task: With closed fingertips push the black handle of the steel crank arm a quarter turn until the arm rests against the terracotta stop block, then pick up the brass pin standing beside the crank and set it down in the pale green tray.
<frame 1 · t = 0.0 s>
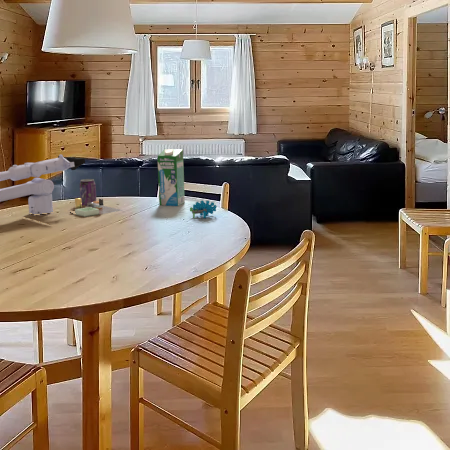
hand: (79, 160, 271), 22 cm above the table, tool horizontal, fingers open, 7 cm apart
base plate: (93, 212, 265), on the table
beverage can: (88, 206, 281), on the table
crank: (95, 202, 262), point 5 cm above the table, hinge at 0.0°
brass pin: (78, 211, 265), point 1 cm above the table, touching base plate
tray: (87, 214, 258), resting on base plate
milk carton: (172, 204, 282), on the table
gear: (203, 217, 253), on the table
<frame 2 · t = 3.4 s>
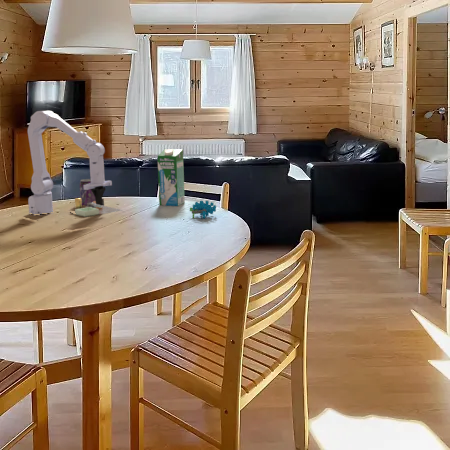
hand: (99, 204, 258), 5 cm above the table, tool pointing down, fingers closed, pressing on crank
crank: (95, 201, 262), point 5 cm above the table, hinge at 2.6°, touching gripper
everything else where it was.
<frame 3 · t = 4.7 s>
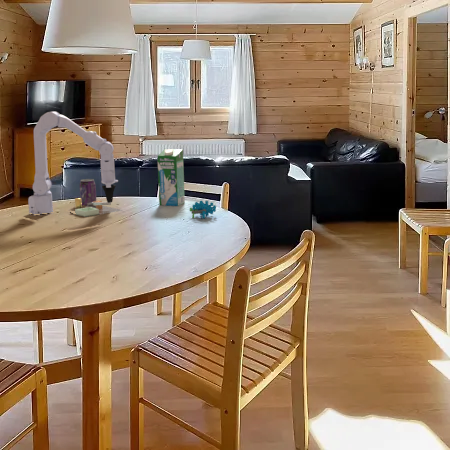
hand: (109, 201, 264), 5 cm above the table, tool pointing down, fingers closed, pressing on crank
crank: (99, 200, 265), point 5 cm above the table, hinge at 50.4°, touching gripper
everything else where it was.
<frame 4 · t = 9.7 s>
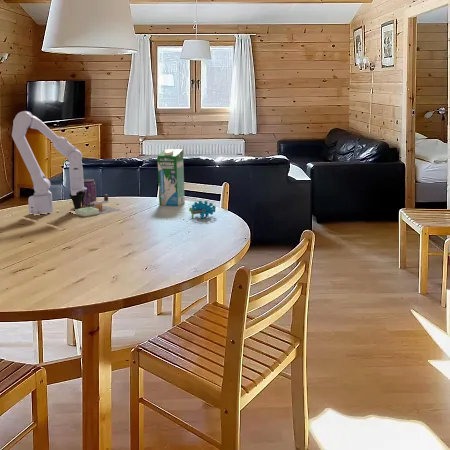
hand: (78, 209, 265), 2 cm above the table, tool pointing down, fingers closed on brass pin, 3 cm apart
crank: (97, 199, 267), point 5 cm above the table, hinge at 90.6°
brass pin: (78, 211, 265), point 1 cm above the table, touching base plate, gripper
everything else where it was.
when the fingers open (3 cm above the table, at t = 12.5 s): brass pin stays where it is, resting on tray.
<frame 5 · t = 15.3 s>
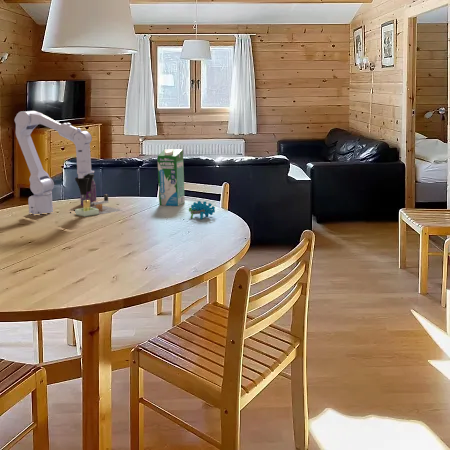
hand: (85, 193, 256), 10 cm above the table, tool pointing down, fingers open, 7 cm apart
brass pin: (87, 213, 258), point 1 cm above the table, touching tray
at the end: crank at +91° (first picture: +0°); brass pin 0.1 cm off-centre on the tray, point 0.5 cm above the tray's base; brass pin tilted 2° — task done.
